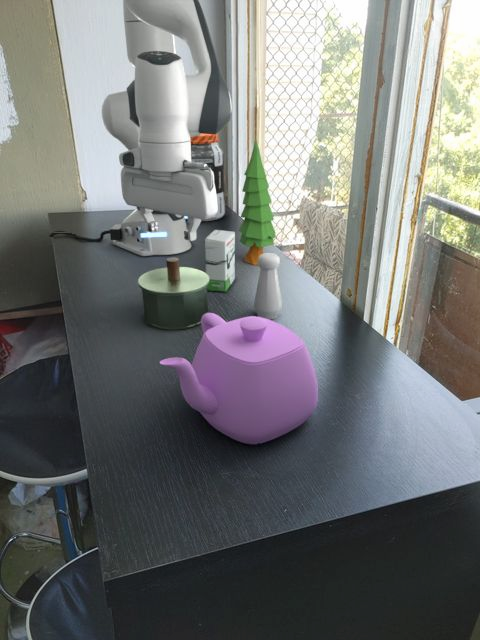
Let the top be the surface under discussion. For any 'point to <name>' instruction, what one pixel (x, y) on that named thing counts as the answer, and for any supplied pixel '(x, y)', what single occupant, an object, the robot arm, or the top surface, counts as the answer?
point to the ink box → (220, 259)
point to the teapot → (249, 378)
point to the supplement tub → (211, 165)
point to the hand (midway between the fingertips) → (171, 235)
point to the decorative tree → (256, 210)
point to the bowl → (175, 309)
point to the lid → (173, 280)
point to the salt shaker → (268, 287)
